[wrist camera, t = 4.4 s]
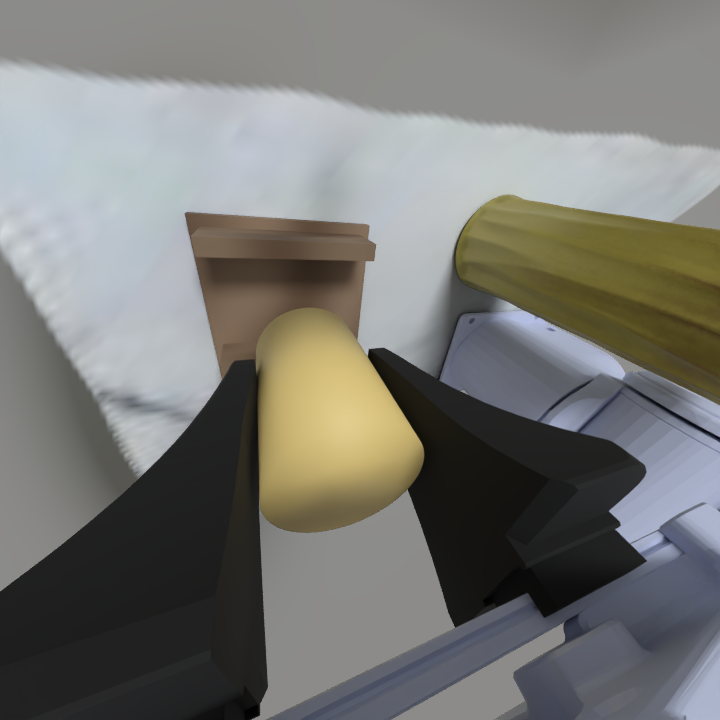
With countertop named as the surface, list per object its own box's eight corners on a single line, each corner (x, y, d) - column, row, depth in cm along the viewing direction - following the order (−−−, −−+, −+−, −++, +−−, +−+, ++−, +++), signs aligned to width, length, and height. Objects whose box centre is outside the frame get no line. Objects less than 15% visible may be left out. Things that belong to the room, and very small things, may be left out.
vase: (498, 294, 22) (756, 425, 11) (439, 278, 19) (699, 428, 8) (545, 212, 19) (964, 272, 8) (483, 179, 16) (980, 199, 5)
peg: (358, 305, 11) (442, 410, 6) (350, 385, 13) (407, 507, 8) (249, 309, 9) (248, 446, 5) (261, 396, 12) (268, 549, 7)
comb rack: (366, 224, 16) (387, 233, 13) (347, 410, 23) (358, 436, 21) (186, 212, 13) (172, 221, 10) (234, 428, 21) (232, 461, 18)
